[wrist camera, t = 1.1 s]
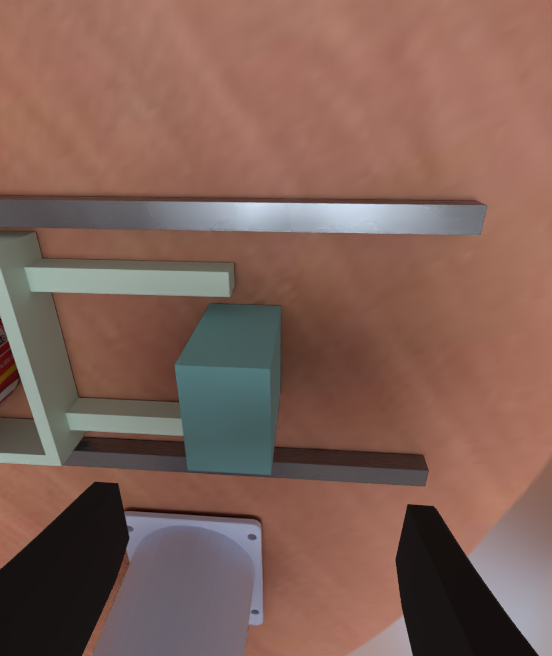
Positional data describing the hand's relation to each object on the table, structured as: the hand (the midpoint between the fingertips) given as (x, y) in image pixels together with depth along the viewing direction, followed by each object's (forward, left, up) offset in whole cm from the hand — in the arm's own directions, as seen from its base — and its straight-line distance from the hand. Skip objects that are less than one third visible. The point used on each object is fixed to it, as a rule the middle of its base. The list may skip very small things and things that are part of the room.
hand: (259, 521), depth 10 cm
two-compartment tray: (0, +10, -9) cm, 13 cm away
